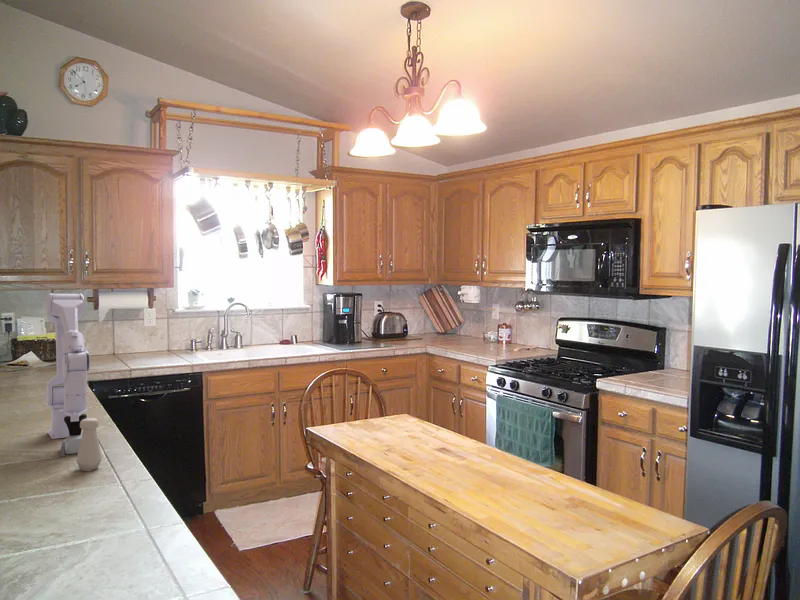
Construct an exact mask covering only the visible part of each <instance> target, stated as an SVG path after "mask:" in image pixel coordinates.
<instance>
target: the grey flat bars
mask: <svg viewBox="0 0 800 600" xmlns="http://www.w3.org/2000/svg"><path fill="white" fill-rule="evenodd" d="M59 450H60V452H59V454H60V455H59V457H60V458H64V457H63V456H66V440H64V441H61V446H60V449H59Z"/></svg>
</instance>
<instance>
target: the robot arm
mask: <svg viewBox="0 0 800 600" xmlns="http://www.w3.org/2000/svg"><path fill="white" fill-rule="evenodd" d="M45 300H46V301H45V304H46V307H45V308H46V317H47V321H49V322H51V323H52V324H53V325H54V328H55V350H56V351H55V354H56V355H55V358H56V360H55V362H56V365H55V366H56V375H55V376H53V377H52V378H51V379H49V380H48V381H47V384H46V391H45V401H46V405H47V406H48V407H49V408H51V413H50V430H47V434H48V436H49V437H50V438H51V439H52V440H56V439H62V438H64V439H65V438H67V436H76V435H82V432H83V429H81V428H80V422H81V420H83V419H86V418H87V414H86V413H87V412H88V398H87V397H88V372H89V371H90V366H91V359H90V358H91V357H90V353H89V351H88V349H87V348H86V346H85V345H86V344H85V340H84V339H85V338H84V335H83V333H82V332H80V331H79V322H78V321H80V320H81V318H82V316H83V314H84V310H85V297H84V295H83V293H81V292H79V293H52V292H49V293H48V294H47V295H46V299H45Z"/></svg>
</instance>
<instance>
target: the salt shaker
mask: <svg viewBox="0 0 800 600" xmlns="http://www.w3.org/2000/svg"><path fill="white" fill-rule="evenodd" d="M99 421H100V420H99V419H97V418H95V417H88V418H87V417H86V419H83V420H81V422H80V428H81V429H82V431H81V434H82V436H81V441H80V446H79V450H78V453H77V456H76V459H75V460H76V464H77V465H78V468H79V471H81V470H82V472H89V470H91V471H94V470H97V469H99V467H100V464H101V462H102V459H103V457H102V452H101V446H100V442H99V436H98V431H97V428H98V427H99V425H100V422H99ZM96 468H97V469H96Z"/></svg>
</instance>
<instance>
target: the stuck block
mask: <svg viewBox="0 0 800 600" xmlns="http://www.w3.org/2000/svg"><path fill="white" fill-rule="evenodd" d="M81 436H82V435H76V436H67V437H66V440H65V441H66V451H65V455H70V454H78V450H79V446H80V441H81Z"/></svg>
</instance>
